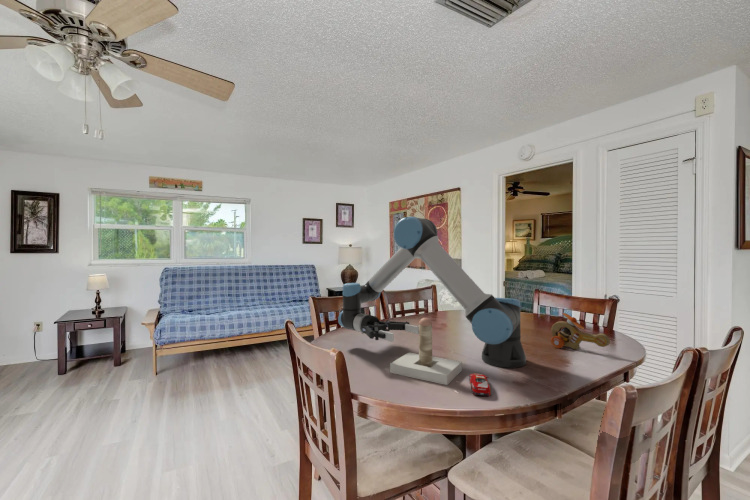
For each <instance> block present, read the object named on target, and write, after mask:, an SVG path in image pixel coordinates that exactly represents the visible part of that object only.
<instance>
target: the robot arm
mask: <svg viewBox="0 0 750 500" xmlns="http://www.w3.org/2000/svg"><path fill="white" fill-rule="evenodd" d="M393 230H394V231H393V239H394V242H395V243H396V245H397V246H398V247H400V248H399V249H398V250H397V251H396V252H395V253H393V255H391V257H390V258H389V259H388V260H387V261H386V262H385V263H384V264H383V265H382V266H381V268H379V269H378V270H377V271H376V273H375V274H374V275H373V276H372V277H370V279H369V280H368V281H367V282H366V283H365V284H363V285H361V284H360V283H358V282H348V283H344V284H343V286H342V311H341V312H340V313H339V315H338V317H337V320H338V321H337V322H338V324H339V326H341V327H342V328H345V329H347V330H351V331H356V332H357V333H361V334H365V335H366V336H367V337H368V338H369V339H371V340H373V339H374V340H375V341H379V340H384V341H387V342H392V343H394V342H395V333H392V332H390V331H405V332H408V333H412V334H416V335H419V325H414V324H413V325H412V324H410V322H409V321H395V320H389V319H388V320H385V321H383V320H380V319H379V318H378V316H375V315H371V314H367V313H362V312H361V311H362V309H361V307H362V304H364V303H368V302H373V301H375V300H377V299H379V297H380V296H381V293H382V292H383V291H384V290H385V289H386V287H387V286H388V285H390V284H391V283H392V282H393V281H394V279H396V278H397V277H398V276H399V275H400V274H402V272H403V271H404V270H405V269H406V268H408V266H409V265H410V264H411V263H412V262H413V261H414V260H415V259H418V260H419V259H420V260H421V261H422V262H423V264H425V265H426V267H427V268H428V269H429V270H430V271H431V272H432V274H433V275H434V276H435V277H436V278H437V279H438V280H439V282H440V283H441V284H442V285H443V286H444V287H445V289H446V290H447V291H448V292H449V293H450V294H451V295H452V296H453V298H454V299H455V300H456V301H457V302H458V303H459V304H460V306H461V307H463V309H464V310H465V314H464V317H465V318H466V320H468V321H469V323H470V324H471V329H472V332H473V334H474V335H475V337H476V338H477V339H479V341H481V342H483V343H484V345H483V349H482V351H481V359H482V362H484V363H486V364H488V365H491V366H494V367H499V368H506V369H507V368H509V369H510V368H512V369H513V368H514V369H515V368H520V367H524V366H525V365H527V355H526V353H525V350H524V348H523V344H522V341H521V334H522V333H521V310H522V306H521V301H520V300H519V299H518V298H511V297H510V298H508V297H495V296H494V295H493V294H490V293H485V292H484V291H483V290H482V289H481V288H480V286H479V285H478V284H477V283H475V281H474V280H473V279H472V278H471V277H470V276H469V274H467V272H466V271H465V270H464V269H463V268H462V267H461V266H460V265H459V264H458V263H457V262H456V260H455V259H454V258H453V257H452V256H451V255H450V254H449V253H448V252H447V251H446V249H444V247H442V246H441V244H440V241H439V236H438V229H437V226H436V224H435V223H434V222H433V221H432V220H431V219H428V218H424V217H423V218H422V217H416V216H405V217H403V218H401V219H400V220H399V221H398V222H397V223H396V225H395V227H394V229H393Z"/></svg>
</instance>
